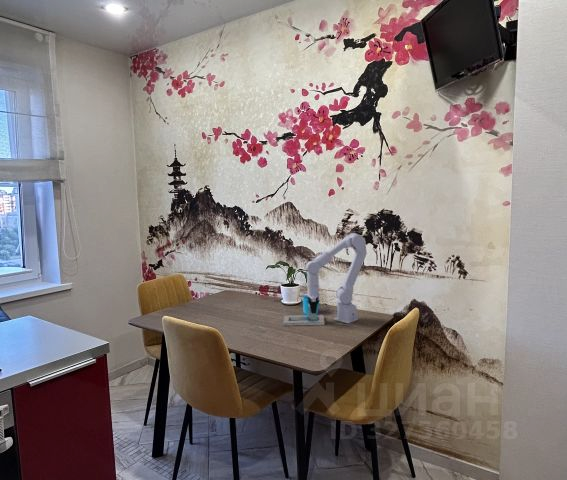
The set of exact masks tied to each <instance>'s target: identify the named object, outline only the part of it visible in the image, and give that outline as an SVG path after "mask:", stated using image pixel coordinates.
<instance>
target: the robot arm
mask: <svg viewBox="0 0 567 480" xmlns="http://www.w3.org/2000/svg"><path fill="white" fill-rule="evenodd" d="M366 243H367V242H366V239H365V238H364V236H363V235H361V234H358V233H356V232H351V233H349V234H348V235H346V236H344V237H343V238H342V239H341V240H340V241H339V242H337V243H336V244H335V245H334V246H332V248H330V249H329V250H328V251H320V252H319V254H318V255H317V256H316V257H315V258H312V259H311V260H310V261H308V262H307V263H306V266H305V269H306V284H307V285H306V288H307V293H305V294H304V296H308V303H309V305H310V308H311V313H312V314H316V310H317V305H318V303H319V304H320V286H319V285H320V284H319V283H320V281H319V279H320V278H319V272H320V270H321V269H322V268H324V267H325V266H326V265H327V264H329V263H330V262H331V261H332V259H333V257H334V256H335V255H336V254H338V253H340V252H341V251H342V250H344V249H345V248H346V249H347V248H352V249H353V251H354V253H355V254H354V256H353V258H352V261H351V263H350V266H349V268H348V270H347V274H346V275H345V278H344V281H343V282H342V283H341V285H340V287H338V288H337V290H336V293H335V295H336V297H337V298H338V299H337V300H336V311H337V312H336V316H337V317H334V318H333V320H334V321H338V322H341V323H345V324H351V323H353V322H355V321H358V320H359V319H358V318H357V317H358V312H357V311H358V309H357V306H356V305H355V303H354V304H353V302H352V301H353V293H354V286H355V285H356V284H355V283H356V282H357V278H358V276H359V273H360V271H361V269H362V266H363V264H364V261H365V259H366V257H367V254H368V253H367V248H366V246H367V245H366ZM318 298H319V300H318Z"/></svg>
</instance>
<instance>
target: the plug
mask: <svg viewBox="0 0 567 480" xmlns="http://www.w3.org/2000/svg"><path fill="white" fill-rule="evenodd" d="M308 308H309V314H308V315H309V318H317V315H318V313H317V310H316V314H312V313H311V308H310V305H309V304H308Z"/></svg>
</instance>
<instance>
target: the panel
mask: <svg viewBox="0 0 567 480" xmlns="http://www.w3.org/2000/svg"><path fill="white" fill-rule="evenodd" d="M324 317H325V316H324V314H317V318H309V314H306V315H305V314H304V315H284V317H283V326H284V327H285V326H288V327H289V326H290V327H291V326H294V327H295V326H296V327H297V326H298V327H299V326H325V318H324Z"/></svg>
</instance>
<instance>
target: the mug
mask: <svg viewBox="0 0 567 480" xmlns="http://www.w3.org/2000/svg"><path fill="white" fill-rule="evenodd" d="M318 300H319V301H320V297H319V298H318ZM308 304H309V303H308V296H305V295H304V296H303V297H302V306H303V309H302V311H303V313H304V314H305V313H306V315H309V308H308ZM319 306H320V302H319V303H318V305H317V314H318V313H319Z"/></svg>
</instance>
